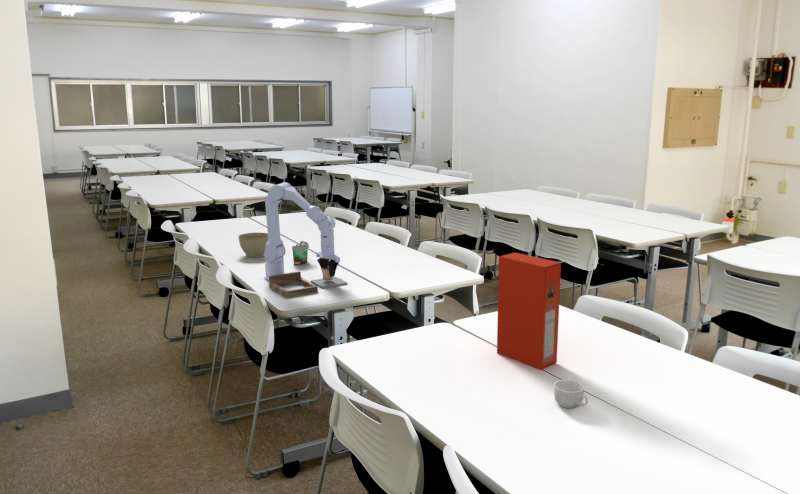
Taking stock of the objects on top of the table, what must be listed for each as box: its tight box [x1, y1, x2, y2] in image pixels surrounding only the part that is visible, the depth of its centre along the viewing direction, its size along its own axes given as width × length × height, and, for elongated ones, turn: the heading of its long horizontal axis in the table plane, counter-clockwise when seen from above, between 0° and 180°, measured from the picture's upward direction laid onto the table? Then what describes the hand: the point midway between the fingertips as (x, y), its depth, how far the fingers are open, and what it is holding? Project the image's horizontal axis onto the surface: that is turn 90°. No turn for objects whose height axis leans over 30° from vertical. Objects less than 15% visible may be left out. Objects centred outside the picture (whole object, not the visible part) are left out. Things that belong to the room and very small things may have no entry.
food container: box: [291, 240, 310, 266], centre depth 317 cm, size 12×6×10 cm, turn 168°
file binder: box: [496, 252, 562, 371], centre depth 197 cm, size 8×17×32 cm, turn 40°
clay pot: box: [321, 267, 334, 281], centre depth 282 cm, size 5×5×5 cm
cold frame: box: [268, 270, 319, 299], centre depth 274 cm, size 18×14×5 cm
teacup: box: [553, 379, 589, 409], centre depth 169 cm, size 10×8×5 cm
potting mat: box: [310, 276, 348, 290], centre depth 283 cm, size 12×12×1 cm
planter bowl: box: [238, 232, 268, 258], centre depth 334 cm, size 16×16×11 cm
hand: (328, 275), depth 283 cm, fingers closed on clay pot, 4 cm apart
